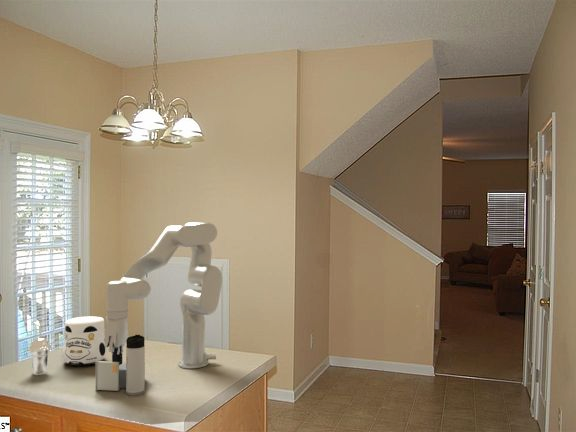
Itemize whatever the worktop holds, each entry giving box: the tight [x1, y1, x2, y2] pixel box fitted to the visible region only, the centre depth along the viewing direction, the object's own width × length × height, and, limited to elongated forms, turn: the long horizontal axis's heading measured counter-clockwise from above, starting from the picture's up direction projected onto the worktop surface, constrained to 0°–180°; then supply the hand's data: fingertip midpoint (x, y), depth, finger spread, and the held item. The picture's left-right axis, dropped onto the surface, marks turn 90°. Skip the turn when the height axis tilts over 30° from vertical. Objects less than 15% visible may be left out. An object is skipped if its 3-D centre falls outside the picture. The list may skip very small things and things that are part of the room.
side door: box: [95, 360, 120, 392], centre depth 180 cm, size 9×2×10 cm, turn 83°
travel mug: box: [125, 334, 146, 397], centre depth 179 cm, size 6×7×20 cm
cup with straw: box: [27, 320, 53, 376], centre depth 199 cm, size 8×9×20 cm
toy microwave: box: [119, 363, 126, 389], centre depth 187 cm, size 16×9×7 cm, turn 103°
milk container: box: [62, 315, 108, 366], centre depth 214 cm, size 17×17×18 cm
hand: (117, 364), depth 185 cm, fingers closed
